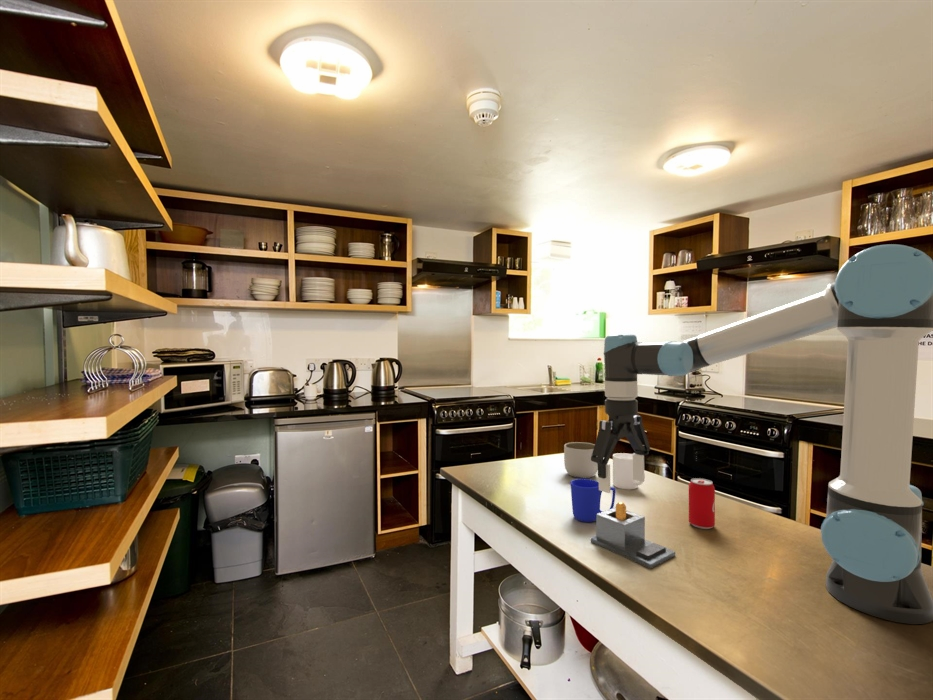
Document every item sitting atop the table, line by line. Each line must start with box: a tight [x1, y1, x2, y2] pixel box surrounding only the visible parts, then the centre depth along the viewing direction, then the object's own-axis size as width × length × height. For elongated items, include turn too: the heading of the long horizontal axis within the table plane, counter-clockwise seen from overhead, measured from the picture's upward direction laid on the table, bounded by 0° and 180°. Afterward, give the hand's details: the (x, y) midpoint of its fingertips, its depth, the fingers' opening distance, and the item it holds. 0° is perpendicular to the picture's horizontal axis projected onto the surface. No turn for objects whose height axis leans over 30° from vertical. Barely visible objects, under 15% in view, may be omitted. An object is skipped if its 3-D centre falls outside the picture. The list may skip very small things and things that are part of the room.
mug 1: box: [570, 478, 616, 523], centre depth 124 cm, size 8×12×10 cm
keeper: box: [590, 501, 676, 570], centre depth 106 cm, size 16×10×10 cm, turn 36°
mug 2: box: [612, 452, 646, 491], centre depth 151 cm, size 12×8×10 cm
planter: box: [563, 441, 598, 479], centre depth 165 cm, size 12×12×11 cm
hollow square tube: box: [595, 506, 646, 551], centre depth 109 cm, size 8×8×6 cm
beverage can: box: [688, 477, 716, 530], centre depth 119 cm, size 6×6×12 cm
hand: (622, 485), depth 108 cm, fingers open, 13 cm apart
